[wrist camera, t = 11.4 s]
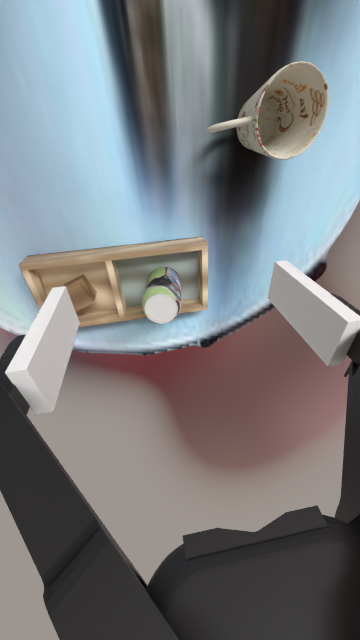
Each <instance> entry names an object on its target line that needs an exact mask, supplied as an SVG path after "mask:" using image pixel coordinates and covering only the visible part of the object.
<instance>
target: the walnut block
mask: <svg viewBox="0 0 360 640" xmlns="http://www.w3.org/2000/svg"><path fill="white" fill-rule="evenodd" d="M63 286H66V288H67V291H68V293H69V296H70V299H71V301H72V304H73V306H74V309H75V311H78V310H80V309H82V308H84V307H86V306H88V305H90V304H92V303H94V300H95V297H96V293H97V291H96V290H95V289H94V287H93V286H92V285H91V283H90V282H89V281H88V279H87V278H86V277H85V275H84V274H83V275H81V276H79V277H77V278H75V279H73V280H71V281H69V282H67V283H65V284H64V285H63Z"/></svg>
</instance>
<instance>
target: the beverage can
mask: <svg viewBox="0 0 360 640" xmlns="http://www.w3.org/2000/svg"><path fill="white" fill-rule="evenodd" d="M181 304H182V303H181V280H180V277H179V275H178V273H177V272H176V271H175V270H173V269H172V268H169V267H159V268H156V269H155V270H153V271H152V272H151V274H150V275H149V278H148V281H147V285H146V288H145V292H144V295H143V299H142V309H143V311H144V313H145V314H146V316H147V317H148V318H149V319H150V320H151V321H153V322H155V323H159V324H164V323H168V322H170V321H172V320H173V319H174V318H176V317H177V316H178V314H179V313H180V310H181Z"/></svg>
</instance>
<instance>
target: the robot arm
mask: <svg viewBox="0 0 360 640" xmlns="http://www.w3.org/2000/svg"><path fill="white" fill-rule="evenodd" d="M268 299H269V300H270V301H271V302H272V304H273V305H274V306H275V307H276V308H277V309H278V310H279V312H280V313H281V314H282V315H283V316H284V317H285V318H286V319H287V320H288V322H289V323H290V324H291V325H292V326H293V327H294V329H295V330H296V331H297V332H298V333H299V334H300V335H301V336H302V338H303V339H304V340H305V341H306V342H307V343H308V344H309V346H310V347H311V348H312V349H313V350H314V351H315V352H316V354H317V355H318V356H319V357H320V358H321V359H322V360H323V361H324V363H326V365H327V366H333V365H339V364H342V363H343V361H344V359H345V357H346V355H347V356H349V358H350V359H352V362H351V363H350V365H349V367H348V369H347V371H346V373H345V375H344V376H345V377H346V376H347V375H348V374H349V379H348V395H347V410H346V426H345V441H344V457H343V471H342V488H341V498H340V502H339V505H338V508H337V511H336V514H335V518H333V517H329V516H326V515H322V514H321V512H320V510H319V508H318V506H313V507H308V508H304V509H299V510H295V511H290V512H286V513H284V514H283V515H281V516H280V517H278V518H277V519H276V520H274V521H272V522H271V523H269V524H268V525H266V526H265V527H263V528H262V529H261V530H259V531H257V532H247V531H239V530H229V529H221V528H215V529H210V530H206V531H202V532H197V533H193V534H188V535H184V536H183V541H184V543H183V544H182V545H180V546H179V547H178V548H176V549H175V550H174V551H173V552H172V553H170V554H169V555H168V556H167V557H166V558H165V559H164V561H163V562H162V563H161V564H160V566H159V567H158V569H157V570H156V571H155V573H154V575H153V577H152V578H151V580H150V582H149V584H148V585H147V584H146V583H145V581H144V580H143V579H142V577H141V576H140V574H139V573H138V571H137V570H136V569H135V567H134V566H133V565H132V563H131V562H130V560H129V559H128V558H127V556H126V555H125V554H124V552H123V551H122V550H121V548H120V547H119V545H118V544H117V543H116V541H115V540H114V539H113V537H112V536H111V534H110V533H109V531H108V530H107V528H106V527H105V526H104V525H103V523H102V521H101V520H100V519H99V517H98V516H97V514H96V513H95V512H94V510H93V509H92V507H91V506H90V504H89V503H88V502H87V500H86V499H85V497H84V496H83V495H82V493H81V492H80V491H79V489H78V488H77V486H76V485H75V483H74V482H73V480H72V479H71V478H70V476H69V475H68V473H67V472H66V471H65V470H64V468H63V466H62V465H61V464H60V462H59V461H58V459H57V458H56V456H55V455H54V454H53V452H52V451H51V449H50V448H49V447H48V445H47V444H46V442H45V441H44V440H43V438H42V437H41V436H40V434H39V433H38V431H37V430H36V428H35V427H34V425H33V424H32V423H31V421H30V420H29V419H28V417H27V416H26V415H27V413H28V410H29V408H31V409H32V411H33V412H34V414H35V415H37V414H42V413H49V412H53V411H54V408H55V404H56V401H57V398H58V394H59V391H60V388H61V384H62V381H63V378H64V374H65V371H66V368H67V364H68V360H69V357H70V354H71V351H72V347H73V344H74V341H75V337H76V334H77V331H78V327H79V324H80V322H79V320H78V317H77V314H76V312H75V309H74V306H73V304H72V301H71V299H70V296H69V293H68V291H67V288H66V286H63V287H55V288H52V290H51V291H50V293H49V295H48V297H47V298H46V300H45V302H44V304H43V306H42V307H41V309H40V311H39V313H38V314H37V316H36V318H35V320H34V322H33V323H32V325H31V327H30V329H29V330H28V332H27V334H26V335H21V336H17V337H16V338H15V339H14V340H13V341H12V342H11V343H10V344H9V345H8V347H7V348H6V350H5V353H3V355H2V356H1V359H0V491H1V493H2V495H3V497H4V499H5V501H6V503H7V505H8V508H9V510H10V512H11V514H12V516H13V518H14V520H15V523H16V525H17V527H18V529H19V531H20V533H21V535H22V538H23V540H24V542H25V544H26V546H27V548H28V550H29V553H30V555H31V557H32V559H33V561H34V563H35V565H36V567H37V570H38V572H39V574H40V576H41V578H42V581H43V583H44V594H43V597H44V602H45V606H46V609H47V611H48V614H49V616H50V619H51V621H52V623H53V625H54V628H55V630H56V632H57V635H58V637H59V639H60V640H360V311H359V310H358V309H356V308H354V306H352V305H351V304H349V303H348V302H347V301H345V300H344V299H343V298H341V297H339V296H337V295H334V294H332V293H328V292H327V291H326V290H324V289H323V288H322V287H321V286H319V285H318V284H316V283H315V282H314V281H313V280H311V279H310V278H309V277H307V276H306V275H305V274H303V273H302V272H301V271H299V270H298V269H297V268H295V267H294V266H293V265H291V264H290V263H289V262H287V261H277V262H275V263H274V269H273V274H272V279H271V284H270V289H269V294H268Z"/></svg>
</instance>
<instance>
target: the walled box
mask: <svg viewBox="0 0 360 640" xmlns="http://www.w3.org/2000/svg"><path fill="white" fill-rule="evenodd" d="M19 267H20V269H21V271H22V273H23V276H24V278H25V280H26V282H27V284H28V286H29V288H30V290H31V292H32V294H33V297H34V299H35V301H36V303H37V305H38V307H39V309H41V307H42V306H43V304H44V302H45V300H46V298H47V297H48V295H49V293H50V291H51V290H52V288H55V287H63V285H64V284H65V283H67V282H69V281H71V280H73V279H75V278H77V277H79V276H81V275H83V274H84V275H85V277H86V278H87V279H88V281H89V282H90V283H91V285H92V286H93V287H94V289H95V290H96V291H97V293H96V297H95V300H94V303H92V304H90V305H88V306H86V307H84V308H82V309H80V310H78V311H75V312H76V314H77V317H78V320H79V322H80V324H79V327H84V326H91V325H99V324H106V323H113V322H120V321H128V320H135V319H142V318H148V317H147V316H146V314H145V313H144V311H143V309H142V299H143V295H144V292H145V288H146V285H147V281H148V278H149V275H150V274H151V272H152V271H153V270H155V269H156V268H159V267H169V268H172V269H173V270H175V271H176V272H177V273H178V275H179V277H180V280H181V303H182V304H181V310H180V313H186V312H193V311H201V310H208V243H207V242H206V240H205V239H204V238H203V237H195V238H186V239H177V240H167V241H158V242H149V243H140V244H131V245H122V246H113V247H104V248H95V249H86V250H77V251H68V252H59V253H50V254H41V255H31V256H27V257H26V258H25V259H24V260H23V261H22V262H21V263H20V264H19Z"/></svg>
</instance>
